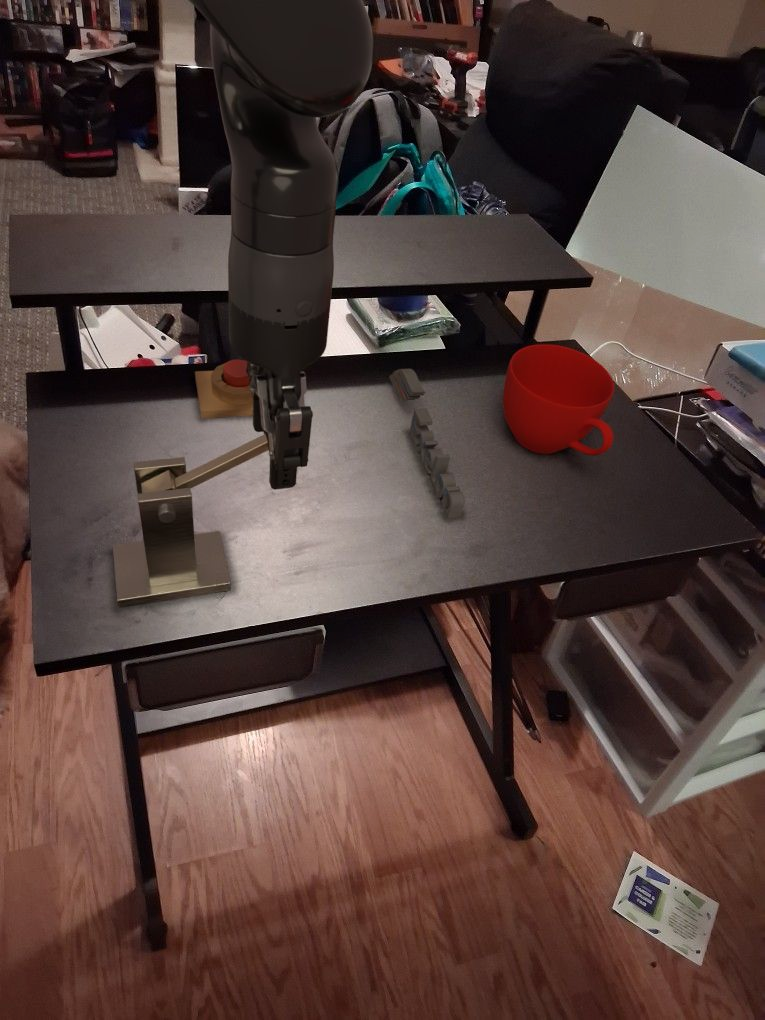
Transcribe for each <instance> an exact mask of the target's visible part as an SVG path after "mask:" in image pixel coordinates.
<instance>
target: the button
mask: <svg viewBox="0 0 765 1020" xmlns="http://www.w3.org/2000/svg"><path fill="white" fill-rule="evenodd" d="M224 364H225V365H224V367H223V371H224V382H225V383H226V384H227V385H229V386H233V387H247V386H249V379H248V374H247V373H246V368H247V361H245V360H244V359H231V360H228V361H227V362H225V363H224Z"/></svg>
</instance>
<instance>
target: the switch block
mask: <svg viewBox="0 0 765 1020" xmlns="http://www.w3.org/2000/svg"><path fill="white" fill-rule="evenodd" d="M224 365H225V363H222V364H220V365H217V366H216V367H215V369H213V370H197V371H196V370H195V371H194V380H195V386H196V387H195V388H196V393H197V400H198V408H199V413H200V418H201V419H213V418H214V419H215V418H231V417H250V416H252V417H253V396H252V394H251V392H250V385H249V386H247V387H233V386H229V385H227V384H226V383H225V382H224V371H223V367H224Z"/></svg>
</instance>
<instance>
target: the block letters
mask: <svg viewBox="0 0 765 1020" xmlns="http://www.w3.org/2000/svg"><path fill="white" fill-rule="evenodd" d="M388 379H389V380H390V382H391V384H392V387H393V389H394V391H395V393H396V396H397V398H398V399H399V400H400V401H403V402H405V401H416V400H418V399H420V398H421V397H422V396H424V395H425V394H426V391H425V389H424V388H423V386H422V384H421V381H420V380H419V377H418V376H417V373H416V372H415V370H414V369H412V368H398V369H397V370H394V371H393V372H392V374H390V375H389V376H388ZM410 423H411V424H410V428H409V432H408V435H409V436H410V438H411V441H412V443H413V445H414V447H416V448H415V450H416V452H417V453H420V461H421V463H423V467H424V470H425V472H426V473H427V474H429V475H430V483H431V485H432V486H433V487H434V490H435V494H436V497H437V498H438V499H441V498H442V500H441V504H440V505H441V507H442V508H443V509H447V511H446V514H445V516H446V518H447V520H450V519H458V518H461V517H462V513H463V510H464V507H465V496H464V494H463V492H462V491H461V487H460V486H459V485H457V480H456V478H455V475H454V473H453V472H447V470H448V467H449V463H450V459H451V456H450V454H449V453H444V452H443V450H442V449H441V448H436V447H437V446H438V445H439V442H438V440H437V439H435V433H434V431H433V430H430V428H429V427H428V426H432V425H433V419H432V417H431V415H430V413H429V411H428V409H427V407H426V408H425V407H424V408H423V407H422V408H414V410H413V413H412V419H411V422H410Z"/></svg>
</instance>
